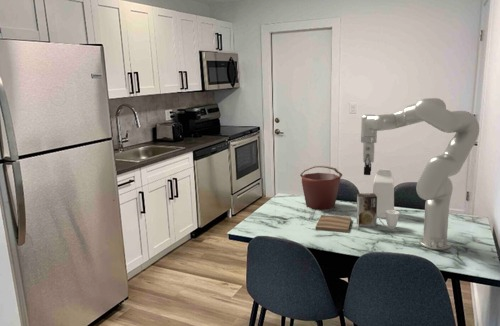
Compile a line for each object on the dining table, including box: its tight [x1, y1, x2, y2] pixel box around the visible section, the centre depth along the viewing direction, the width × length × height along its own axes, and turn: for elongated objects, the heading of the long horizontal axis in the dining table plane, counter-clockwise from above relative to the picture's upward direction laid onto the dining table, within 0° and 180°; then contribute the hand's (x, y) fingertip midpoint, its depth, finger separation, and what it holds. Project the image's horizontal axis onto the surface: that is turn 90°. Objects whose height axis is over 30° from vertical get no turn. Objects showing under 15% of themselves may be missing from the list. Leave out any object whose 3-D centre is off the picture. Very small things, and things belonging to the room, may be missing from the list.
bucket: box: [300, 165, 343, 211], centre depth 233 cm, size 24×22×25 cm
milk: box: [372, 168, 395, 219], centre depth 213 cm, size 12×12×26 cm
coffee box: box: [356, 192, 378, 228], centre depth 198 cm, size 9×6×16 cm
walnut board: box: [315, 214, 352, 233], centre depth 201 cm, size 20×16×2 cm
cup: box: [378, 209, 400, 230], centre depth 195 cm, size 7×10×8 cm
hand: (367, 173), depth 195 cm, fingers open, 9 cm apart
